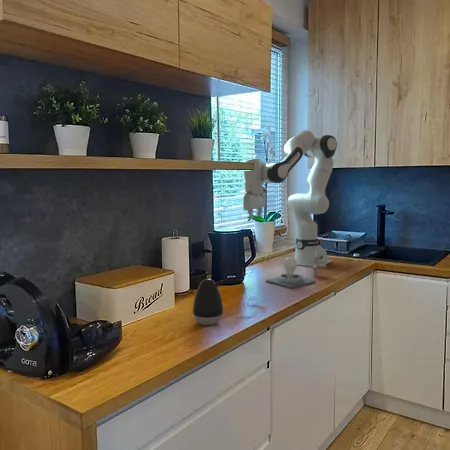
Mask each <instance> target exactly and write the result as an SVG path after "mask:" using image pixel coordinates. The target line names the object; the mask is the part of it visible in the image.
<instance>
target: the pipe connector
mask: <svg viewBox="0 0 450 450" xmlns="http://www.w3.org/2000/svg"><path fill="white" fill-rule="evenodd" d="M304 268H310V269H313V277H315V278H317V277H318V269H327V264H325V265H324V264H318V256H314V264H305V266H304Z"/></svg>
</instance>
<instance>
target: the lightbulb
mask: <svg viewBox="0 0 450 450" xmlns="http://www.w3.org/2000/svg"><path fill="white" fill-rule="evenodd" d="M282 266H283V268H284V270H285V272H286V273H285V274H287V278H290V279H292V278H293V274H295V273H294V272H295V270H296V269H297V266H298V265H297V261H296V260H295V259H294V257H293V256H289V257H286V258H285V259H283V263H282Z"/></svg>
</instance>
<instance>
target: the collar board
mask: <svg viewBox="0 0 450 450" xmlns="http://www.w3.org/2000/svg"><path fill="white" fill-rule="evenodd" d="M265 282H266V283H269V284H272V285H276V286H279V287H284V288H285V289H286V288H287V289H290V290H291V289H292V290H293V289H296V288H301V287H305V286H308V285H313V284H316V280H313V279H307V278H305V277H303V274H298V273H293V278H292V279H290V278H287V273H281V274H278V275H277V277H273V278H268V279H265Z"/></svg>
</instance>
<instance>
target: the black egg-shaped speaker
mask: <svg viewBox="0 0 450 450" xmlns="http://www.w3.org/2000/svg"><path fill="white" fill-rule="evenodd" d="M223 283H224V280H222V279H221V280H219V281H217V282H215V281H214V280H213V279H211V278H204V279H203V280H202V281H201V282H200V283H199V285H198V287H197V289H196V292H195V296H194V299H193V304H192V305H193V307H192V314H193V316H194V319H195V320H196V322H197V323H198V324H200V325H203V326H213V325H215V324H218V323H219V322H220V320H221V319H222V316H223V313H224V305H223V301H222V300H223V299H222V296H221V295H222V294H221V293H220V290H219V286H221V285H222V284H223Z"/></svg>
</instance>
